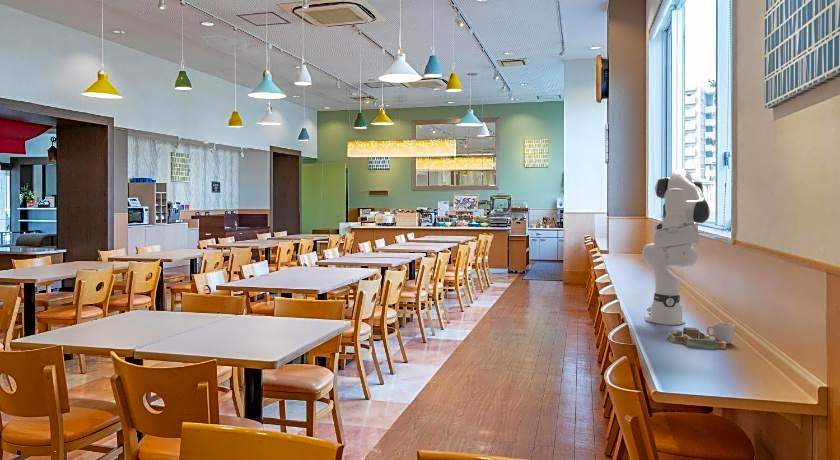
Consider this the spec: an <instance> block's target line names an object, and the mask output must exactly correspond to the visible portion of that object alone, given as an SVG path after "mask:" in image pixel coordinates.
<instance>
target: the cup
mask: <svg viewBox="0 0 840 460" xmlns="http://www.w3.org/2000/svg"><path fill="white" fill-rule="evenodd" d="M735 327H736V325H735V324H732V323H729V322H728V323H727V322H715V323H714V324H711V325H708V326H707V328H706V333H707V335H708V336H710V337H712V338H715V339H721V340H723V341H724V342H726V345H729V344H732V342H733V339H734V333H735ZM711 328H712V329H713V333H710V329H711Z"/></svg>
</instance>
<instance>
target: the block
mask: <svg viewBox="0 0 840 460" xmlns="http://www.w3.org/2000/svg"><path fill="white" fill-rule="evenodd" d="M699 331H700V330H699V329H698V328H696V327H687V326H683V330H682V335H683V334H685V335H688V336H689V337H690V338H692V339H699Z"/></svg>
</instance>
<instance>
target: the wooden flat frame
mask: <svg viewBox="0 0 840 460" xmlns="http://www.w3.org/2000/svg"><path fill="white" fill-rule="evenodd" d="M710 337H711V336H709V335H708V334H706V333H705V332H704V331H700V330H699V339H692V338H690V337H689V336H688V335H685V334H683V330H680V329H679V330H678V329H677V331H676V332H667V337H666V338H667V340H669V341H670V342H671V343H673V344H684V345H685V346H687V347H688V348H692V349H693V348H694V349H709V350H710V349H711V350H712V349H713V350H716V349H722V350H723V349H725V350H726V349H727V344H726V342H724V341H723V340H721V339H715V337H712V338H710Z"/></svg>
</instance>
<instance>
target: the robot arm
mask: <svg viewBox="0 0 840 460" xmlns="http://www.w3.org/2000/svg"><path fill="white" fill-rule="evenodd" d="M654 192H655V195H656V197H657V198H660V199H664V200H665V201H664V204H663V205H662V220H661V222H660V223H659V224H656V225H655V226H654V231H655V233H654V236H653V242H651V243H646V244H645V245H644V246H643V248H642V251H641V258H642V260H643V261H644V263H646V264H647V265H648V266H649V267H650V269H651V271H652V272H653V276H654V282H655V289H654V293H653V301H652V303H651V304H650V305H649V306H647V307H646V312H647V313H648V314H644V318H645V322H650V323H654V324H658V325H659V324H660V325H668V326H671V325H673V326H674V325H675V326H677V325H681V324H682V325H683V324H686V321H685V320H684V319H683V306H682V305H681V304H680V302H681V301H680V300H681V295H680V283H681V281H680V280H681V279H680V278H679V277H678V276H677V275H676V274H674V273H672V272H671V271H670V270H669V268H668V267H675V268H676V267H677V268H687V267H688V268H690V267H693V266H694V265H695V264H696V262H697V260H698V255H699V254H698V252H697V250H696V248H695V247H694V246H693V245H698V244H699V243H700V235H699V225H698V224H703V223H705V222H706V221H707V220H708V219H709V218H710V214H711V213H710V212H711V210H710V206H709V204H708V201H706V199H705V196H704V187H703V183H702V182H701V181H699V180H697V179H694V180H693V178H692V175H691V173H690V172H689V171H687V170H685V169H684V168H683V169H682V168H681V169H676V170H675V171H673V172H672V173H671V175H670V176H669V177H667V176H663V177H661V178H658V179H657V181H656V182H655V185H654Z"/></svg>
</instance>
